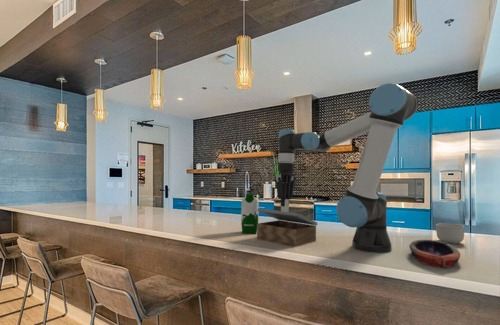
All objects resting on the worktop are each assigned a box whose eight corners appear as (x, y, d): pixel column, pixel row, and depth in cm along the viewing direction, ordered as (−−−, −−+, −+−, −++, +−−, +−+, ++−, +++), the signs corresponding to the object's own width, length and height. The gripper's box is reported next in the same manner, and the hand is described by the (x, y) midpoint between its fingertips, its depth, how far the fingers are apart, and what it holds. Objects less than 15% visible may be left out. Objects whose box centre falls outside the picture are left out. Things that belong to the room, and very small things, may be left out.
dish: (453, 252, 119) (453, 240, 120) (466, 275, 92) (466, 258, 92) (409, 247, 127) (409, 236, 127) (409, 267, 100) (409, 252, 100)
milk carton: (240, 233, 152) (240, 194, 153) (242, 230, 161) (242, 193, 162) (257, 234, 151) (257, 194, 152) (258, 231, 160) (259, 193, 161)
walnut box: (316, 241, 137) (316, 225, 137) (294, 246, 125) (294, 230, 126) (278, 234, 152) (279, 220, 153) (257, 238, 141) (257, 223, 141)
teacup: (469, 245, 130) (468, 227, 131) (441, 244, 133) (441, 226, 133) (454, 239, 144) (454, 222, 144) (429, 238, 146) (429, 221, 147)
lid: (316, 225, 137) (317, 222, 137) (296, 215, 126) (297, 212, 126) (278, 219, 153) (278, 216, 153) (257, 210, 142) (257, 207, 143)
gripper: (288, 163, 148) (287, 211, 147) (270, 162, 138) (268, 213, 137) (301, 163, 142) (300, 213, 142) (282, 161, 133) (281, 215, 132)
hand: (284, 213), depth 139 cm, fingers closed
